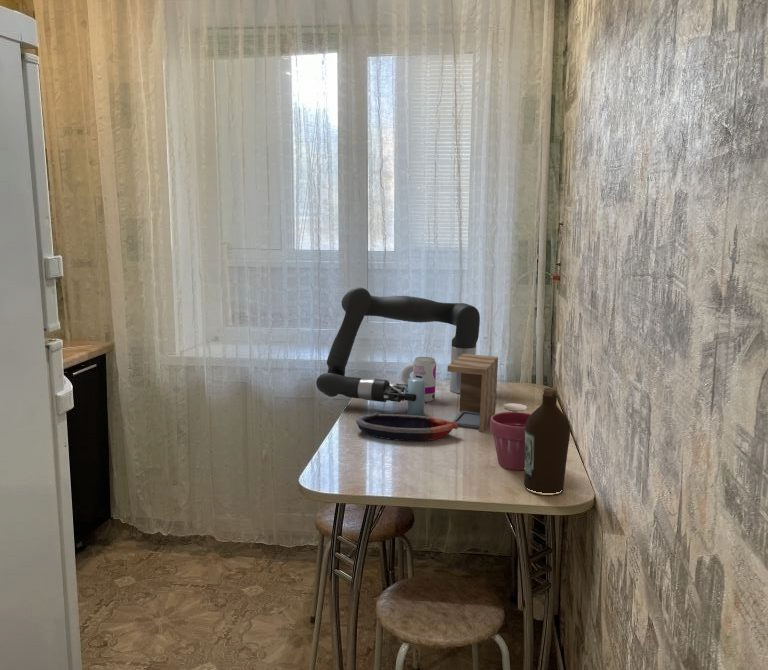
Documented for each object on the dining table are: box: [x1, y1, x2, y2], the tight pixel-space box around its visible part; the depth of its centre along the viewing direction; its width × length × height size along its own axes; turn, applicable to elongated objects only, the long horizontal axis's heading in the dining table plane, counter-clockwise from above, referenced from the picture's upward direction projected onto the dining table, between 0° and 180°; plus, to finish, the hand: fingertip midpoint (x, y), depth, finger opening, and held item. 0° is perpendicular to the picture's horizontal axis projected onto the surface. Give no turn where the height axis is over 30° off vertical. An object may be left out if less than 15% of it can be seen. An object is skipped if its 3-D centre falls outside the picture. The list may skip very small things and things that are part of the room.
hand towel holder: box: [502, 402, 528, 412], centre depth 220 cm, size 17×4×20 cm
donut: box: [400, 362, 413, 385], centre depth 262 cm, size 10×4×10 cm, turn 77°
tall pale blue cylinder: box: [406, 377, 426, 416], centre depth 227 cm, size 6×6×12 cm
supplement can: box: [412, 356, 437, 403], centre depth 246 cm, size 8×8×15 cm
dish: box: [355, 412, 458, 442], centre depth 207 cm, size 16×31×5 cm, turn 81°
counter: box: [446, 354, 499, 433], centre depth 221 cm, size 21×12×20 cm, turn 161°
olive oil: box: [523, 387, 571, 493], centre depth 166 cm, size 11×11×25 cm
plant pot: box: [489, 411, 532, 470], centre depth 183 cm, size 14×14×13 cm
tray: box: [451, 411, 480, 430], centre depth 222 cm, size 14×9×1 cm, turn 161°
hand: (419, 394), depth 226 cm, fingers open, 8 cm apart
